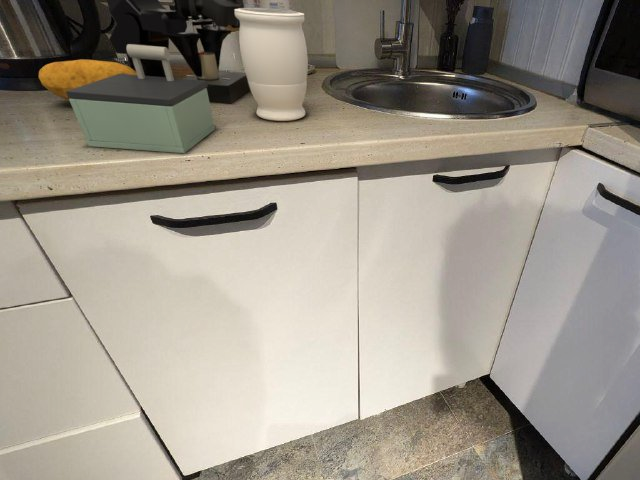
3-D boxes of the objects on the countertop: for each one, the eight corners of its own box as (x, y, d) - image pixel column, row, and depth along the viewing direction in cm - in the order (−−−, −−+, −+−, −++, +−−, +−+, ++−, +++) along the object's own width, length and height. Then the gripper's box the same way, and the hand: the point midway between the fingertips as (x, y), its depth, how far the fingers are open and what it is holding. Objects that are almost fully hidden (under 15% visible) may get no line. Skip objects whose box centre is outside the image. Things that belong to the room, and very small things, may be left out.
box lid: (121, 79, 58) (107, 40, 55) (208, 86, 58) (199, 47, 55) (68, 98, 49) (48, 52, 46) (171, 106, 49) (159, 61, 46)
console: (204, 85, 82) (200, 68, 80) (251, 89, 83) (248, 72, 81) (179, 99, 73) (174, 80, 71) (231, 103, 73) (227, 84, 71)
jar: (272, 104, 75) (259, 6, 65) (321, 112, 73) (316, 12, 63) (237, 117, 67) (218, 8, 57) (292, 127, 65) (281, 15, 55)
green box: (133, 122, 61) (118, 80, 57) (215, 129, 61) (206, 87, 58) (88, 146, 52) (68, 98, 49) (184, 153, 53) (171, 106, 49)
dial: (201, 74, 77) (195, 48, 74) (222, 76, 77) (217, 50, 74) (193, 78, 73) (186, 51, 71) (214, 80, 74) (209, 53, 71)
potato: (143, 110, 66) (129, 64, 62) (45, 111, 62) (22, 61, 58) (150, 98, 72) (137, 55, 68) (60, 98, 68) (41, 53, 64)
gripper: (180, -32, 56) (207, 89, 66) (261, -26, 70) (272, 73, 80) (120, -38, 59) (154, 80, 69) (209, -31, 73) (227, 66, 82)
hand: (207, 74), depth 75 cm, fingers closed on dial, 4 cm apart
